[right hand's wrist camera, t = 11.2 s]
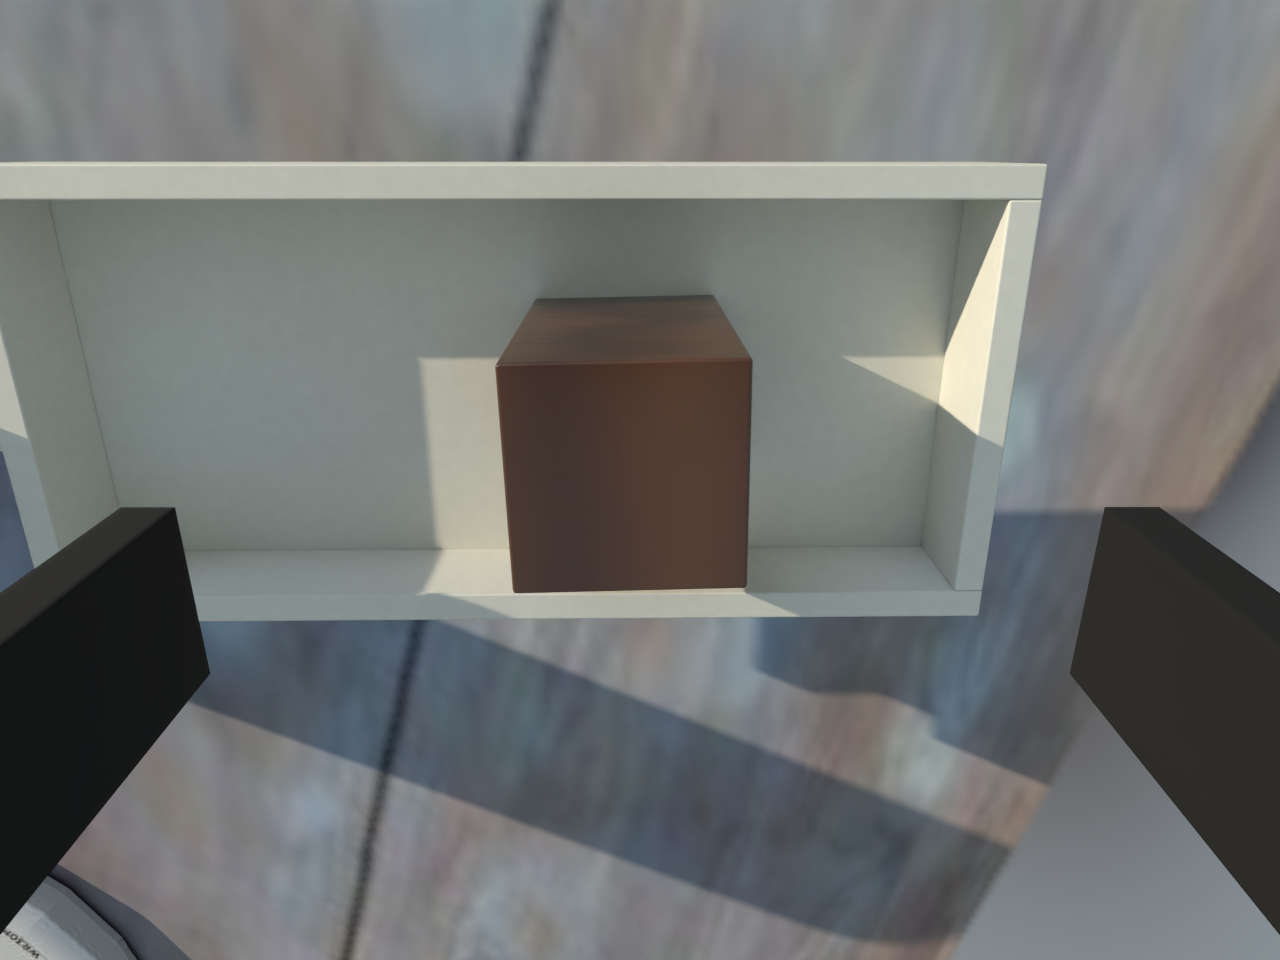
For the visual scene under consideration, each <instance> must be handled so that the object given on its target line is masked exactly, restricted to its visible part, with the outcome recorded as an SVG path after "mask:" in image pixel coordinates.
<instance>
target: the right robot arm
mask: <svg viewBox="0 0 1280 960" xmlns="http://www.w3.org/2000/svg"><path fill="white" fill-rule="evenodd" d="M209 674H210V671H209V666H208V661H207V657H206V652H205V647H204V642H203V638H202V633H201V628H200V623H199V619H198V614H197V609H196V604H195V600H194V595H193V590H192V585H191V581H190V576H189V571H188V566H187V562H186V557H185V552H184V547H183V543H182V538H181V533H180V528H179V524H178V519H177V514H176V509H175V507H120V508H119V509H118V510H116V511H115V512H113V513H112V514H111V515H109V516H108V517H106V518H105V519H104V520H102V521H101V522H99V523H98V524H97V525H95V526H94V527H92V528H91V529H90V530H88V531H87V532H85V533H84V534H83V535H81V536H80V537H78V538H77V539H76V540H74V541H73V542H71V543H70V544H69V545H67V546H66V547H64V548H63V549H62V550H60V551H59V552H57V553H56V554H54V555H53V556H52V557H50V558H49V559H47V560H46V561H45V562H43V563H42V564H40V565H39V566H38V567H36V568H35V569H33V570H32V571H31V572H29V573H28V574H26V575H25V576H24V577H22V578H21V579H19V580H18V581H17V582H15V583H14V584H12V585H11V586H10V587H8V588H7V589H5V590H4V591H3V592H1V593H0V935H1V933H2V932H3V931H4V930H5V928H6V927H7V926H8V925H9V923H10V922H11V921H12V920H13V918H14V917H15V916H16V915H17V913H18V912H19V911H20V910H21V908H22V907H23V906H24V905H25V903H26V902H27V901H28V900H29V898H30V897H31V896H32V895H33V893H34V892H35V891H36V890H37V889H38V887H39V886H40V885H41V884H42V882H43V881H44V880H45V879H46V877H47V876H48V875H49V874H50V872H51V871H52V870H53V869H54V867H55V866H56V865H57V864H58V862H59V861H60V860H61V859H62V857H63V856H64V855H65V854H66V852H67V851H68V850H69V849H70V847H71V846H72V845H73V844H74V842H75V841H76V840H77V839H78V837H79V836H80V835H81V834H82V832H83V831H84V830H85V829H86V827H87V826H88V825H89V824H90V822H91V821H92V820H93V819H94V817H95V816H96V815H97V814H98V812H99V811H100V810H101V809H102V807H103V806H104V805H105V804H106V802H107V801H108V800H109V799H110V798H111V796H112V795H113V794H114V793H115V791H116V790H117V789H118V788H119V786H120V785H121V784H122V783H123V781H124V780H125V779H126V778H127V776H128V775H129V774H130V773H131V771H132V770H133V769H134V768H135V766H136V765H137V764H138V763H139V761H140V760H141V759H142V758H143V756H144V755H145V754H146V753H147V751H148V750H149V749H150V748H151V746H152V745H153V744H154V743H155V741H156V740H157V739H158V738H159V736H160V735H161V734H162V733H163V731H164V730H165V729H166V728H167V726H168V725H169V724H170V723H171V721H172V720H173V719H174V718H175V716H176V715H177V714H178V713H179V712H180V710H181V709H182V708H183V707H184V705H185V704H186V703H187V702H188V700H189V699H190V698H191V697H192V695H193V694H194V693H195V692H196V690H197V689H198V688H199V687H200V685H201V684H202V683H203V682H204V680H205V679H206V678H207V677H208V675H209ZM1070 674H1071V675H1072V677H1073V678H1074V679H1075V680H1076V682H1077V683H1078V684H1079V685H1080V687H1081V688H1082V689H1083V690H1084V692H1085V693H1086V694H1087V695H1088V697H1089V698H1090V699H1091V700H1092V702H1093V703H1094V704H1095V705H1096V707H1097V708H1098V709H1099V710H1100V711H1101V713H1102V714H1103V715H1104V716H1105V718H1106V719H1107V720H1108V721H1109V723H1110V724H1111V725H1112V726H1113V728H1114V729H1115V730H1116V731H1117V733H1118V734H1119V735H1120V736H1121V738H1122V739H1123V740H1124V741H1125V743H1126V744H1127V745H1128V746H1129V748H1130V749H1131V750H1132V751H1133V753H1134V754H1135V755H1136V756H1137V758H1138V759H1139V760H1140V761H1141V763H1142V764H1143V765H1144V766H1145V768H1146V769H1147V770H1148V771H1149V773H1150V774H1151V775H1152V776H1153V778H1154V779H1155V780H1156V781H1157V783H1158V784H1159V785H1160V786H1161V787H1162V789H1163V790H1164V791H1165V793H1166V794H1167V795H1168V796H1169V797H1170V799H1171V800H1172V801H1173V802H1174V804H1175V805H1176V806H1177V807H1178V809H1179V810H1180V811H1181V812H1182V814H1183V815H1184V816H1185V817H1186V819H1187V820H1188V821H1189V822H1190V824H1191V825H1192V826H1193V827H1194V829H1195V830H1196V831H1197V832H1198V834H1199V835H1200V836H1201V837H1202V839H1203V840H1204V841H1205V842H1206V844H1207V845H1208V846H1209V847H1210V849H1211V850H1212V851H1213V852H1214V854H1215V855H1216V856H1217V857H1218V859H1219V860H1220V861H1221V862H1222V863H1223V865H1224V866H1225V867H1226V869H1227V870H1228V871H1229V872H1230V874H1231V875H1232V876H1233V877H1234V878H1235V880H1236V881H1237V882H1238V884H1239V885H1240V886H1241V887H1242V888H1243V890H1244V891H1245V892H1246V893H1247V895H1248V896H1249V897H1250V898H1251V900H1252V901H1253V902H1254V903H1255V905H1256V906H1257V907H1258V908H1259V910H1260V911H1261V912H1262V913H1263V915H1264V916H1265V917H1266V918H1267V920H1268V921H1269V922H1270V923H1271V925H1272V926H1273V927H1274V928H1275V930H1276V931H1277V932H1278V933H1279V935H1280V593H1279V592H1277V591H1276V590H1275V589H1273V588H1272V587H1270V586H1269V585H1267V584H1266V583H1265V582H1263V581H1262V580H1261V579H1259V578H1258V577H1256V576H1255V575H1254V574H1252V573H1251V572H1249V571H1248V570H1247V569H1245V568H1244V567H1242V566H1241V565H1240V564H1238V563H1237V562H1235V561H1234V560H1233V559H1231V558H1230V557H1228V556H1227V555H1226V554H1224V553H1223V552H1221V551H1220V550H1218V549H1217V548H1216V547H1214V546H1213V545H1211V544H1210V543H1209V542H1207V541H1206V540H1204V539H1203V538H1202V537H1200V536H1199V535H1197V534H1196V533H1195V532H1193V531H1192V530H1190V529H1189V528H1188V527H1186V526H1185V525H1183V524H1182V523H1181V522H1179V521H1178V520H1176V519H1175V518H1174V517H1172V516H1171V515H1169V514H1168V513H1167V512H1165V511H1164V510H1162V509H1161V508H1160V507H1105V509H1104V514H1103V519H1102V524H1101V528H1100V533H1099V538H1098V543H1097V547H1096V552H1095V557H1094V562H1093V566H1092V571H1091V576H1090V581H1089V585H1088V590H1087V595H1086V600H1085V604H1084V609H1083V614H1082V619H1081V623H1080V628H1079V633H1078V638H1077V642H1076V647H1075V652H1074V657H1073V661H1072V666H1071V671H1070Z"/></svg>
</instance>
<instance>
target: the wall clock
mask: <svg viewBox="0 0 1280 960" xmlns="http://www.w3.org/2000/svg"><path fill="white" fill-rule="evenodd" d="M0 960H137V959H136V958H135V956H134V955H133V953H132V952H131V950H130V949H129V947H128V946H127V944H126V943H125V941H124V940H123V938H122V937H121V936H120V935H119V934H118V933H117V932H116V931H115V930H114V929H112V928H111V927H110V926H109V925H108V924H107V923H106V922H105V921H104V920H103V919H102V918H100V917H99V916H98V915H97V914H96V913H95V912H94V911H93V910H92V909H91V908H90V907H88V906H87V905H86V904H85V903H84V902H83V901H82V900H81V899H80V898H79V897H78V896H76V895H75V894H74V893H73V892H72V891H71V890H70V889H69V888H67V887H65V886H64V885H62V884H60V883H59V882H57V881H55V880H54V879H52V878H50V877H49V876H47V877H46V879H45V880H44V881H43V882H42V884H41V885H40V886H39V887H38V889H37V890H36V891H35V892H34V893H33V895H32V896H31V897H30V898H29V900H28V901H27V902H26V903H25V905H24V906H23V907H22V908H21V910H20V911H19V912H18V913H17V915H16V916H15V917H14V918H13V920H12V921H11V922H10V923H9V925H8V926H7V927H6V928H5V930H4V931H3V932H2V933H1V935H0Z"/></svg>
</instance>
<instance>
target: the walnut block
mask: <svg viewBox="0 0 1280 960" xmlns="http://www.w3.org/2000/svg"><path fill="white" fill-rule="evenodd" d="M495 372H496V385H497V398H498V410H499V423H500V436H501V448H502V461H503V474H504V486H505V499H506V512H507V524H508V537H509V549H510V562H511V575H512V587H513V592H514V593H551V592H593V591H634V590H676V589H717V588H745V587H746V585H747V565H748V528H749V491H750V453H751V416H752V379H753V360H752V358H751V356H750V354H749V353H748V351H747V350H746V348H745V346H744V345H743V343H742V341H741V340H740V338H739V336H738V335H737V333H736V331H735V330H734V328H733V326H732V325H731V323H730V321H729V320H728V318H727V317H726V315H725V313H724V312H723V310H722V308H721V307H720V305H719V303H718V302H717V300H716V298H715V297H714V296H713V295H683V296H637V297H591V298H544V299H535V301H534V303H533V304H532V306H531V307H530V309H529V311H528V312H527V314H526V316H525V317H524V319H523V321H522V322H521V324H520V326H519V327H518V329H517V330H516V332H515V334H514V335H513V337H512V339H511V340H510V342H509V344H508V345H507V347H506V349H505V350H504V352H503V353H502V355H501V357H500V358H499V360H498V362H497V363H496V366H495Z"/></svg>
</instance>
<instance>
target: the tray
mask: <svg viewBox="0 0 1280 960" xmlns="http://www.w3.org/2000/svg"><path fill="white" fill-rule="evenodd" d="M1047 167H1048V166H1047V164H1032V163H1001V162H2V163H0V451H3V455H4V458H5V462H6V466H7V469H8V473H9V477H10V481H11V484H12V488H13V492H14V495H15V499H16V503H17V506H18V510H19V514H20V517H21V521H22V525H23V529H24V532H25V536H26V540H27V543H28V547H29V551H30V554H31V558H32V562H33V566H34V569H35V568H36V567H38V566H39V565H40V564H42V563H43V562H45V561H46V560H47V559H49V558H50V557H52V556H53V555H54V554H56V553H57V552H59V551H60V550H62V549H63V548H64V547H66V546H67V545H69V544H70V543H71V542H73V541H74V540H76V539H77V538H78V537H80V536H81V535H83V534H84V533H85V532H87V531H88V530H90V529H91V528H92V527H94V526H95V525H97V524H98V523H99V522H101V521H102V520H104V519H105V518H106V517H108V516H109V515H111V514H112V513H113V512H115V511H116V510H118V509H119V508H120V507H175V509H176V514H177V519H178V524H179V528H180V533H181V538H182V543H183V547H184V552H185V557H186V562H187V566H188V571H189V576H190V581H191V585H192V590H193V595H194V600H195V604H196V609H197V614H198V619H199V621H318V620H454V619H590V618H726V617H863V616H977V615H978V614H979V607H980V601H981V594H982V591H981V590H982V587H983V580H984V574H985V568H986V561H987V555H988V548H989V542H990V535H991V529H992V522H993V516H994V509H995V503H996V496H997V490H998V483H999V477H1000V471H1001V464H1002V458H1003V451H1004V445H1005V438H1006V432H1007V425H1008V419H1009V412H1010V406H1011V399H1012V393H1013V386H1014V380H1015V374H1016V367H1017V361H1018V354H1019V348H1020V341H1021V335H1022V328H1023V322H1024V315H1025V309H1026V302H1027V296H1028V289H1029V283H1030V277H1031V270H1032V264H1033V257H1034V251H1035V244H1036V238H1037V231H1038V225H1039V218H1040V212H1041V205H1042V201H1041V200H1040V199H1042V198H1043V193H1044V186H1045V180H1046V174H1047ZM683 295H713V296H714V297H715V298H716V300H717V302H718V303H719V305H720V307H721V308H722V310H723V312H724V313H725V315H726V317H727V318H728V320H729V321H730V323H731V325H732V326H733V328H734V330H735V331H736V333H737V335H738V336H739V338H740V340H741V341H742V343H743V345H744V346H745V348H746V350H747V351H748V353H749V354H750V356H751V358H752V360H753V379H752V416H751V453H750V491H749V528H748V565H747V585H746V587H745V588H717V589H676V590H634V591H593V592H551V593H514V592H513V587H512V575H511V562H510V549H509V537H508V524H507V512H506V499H505V486H504V474H503V461H502V448H501V436H500V423H499V410H498V398H497V385H496V372H495V366H496V363H497V362H498V360H499V358H500V357H501V355H502V353H503V352H504V350H505V349H506V347H507V345H508V344H509V342H510V340H511V339H512V337H513V335H514V334H515V332H516V330H517V329H518V327H519V326H520V324H521V322H522V321H523V319H524V317H525V316H526V314H527V312H528V311H529V309H530V307H531V306H532V304H533V303H534V301H535V299H544V298H591V297H637V296H683Z"/></svg>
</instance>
